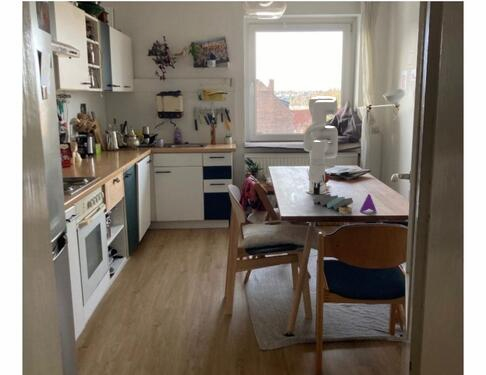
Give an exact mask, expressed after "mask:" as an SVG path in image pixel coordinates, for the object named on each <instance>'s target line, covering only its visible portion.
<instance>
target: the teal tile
mask: <svg viewBox="0 0 486 375" xmlns="http://www.w3.org/2000/svg"><path fill="white" fill-rule="evenodd" d="M343 199H346V197H345V196H338V198H336V199H334V200H332V201H331V202H329V203H327V205H326V207H327V209H334V206H333V205H335V204H336V203H338V202H340V201H341V200H343Z"/></svg>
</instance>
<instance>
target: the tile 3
mask: <svg viewBox="0 0 486 375" xmlns="http://www.w3.org/2000/svg"><path fill="white" fill-rule="evenodd" d="M353 203H354V200H353V197H349V198H348V197H347V198H345V199H343V200H341V201H340V202H338V203H336V204H335V205H333V206H334V208H333V209H334V210H335V211H336V210H339V207H343V206H349V205H352V204H353Z"/></svg>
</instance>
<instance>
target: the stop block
mask: <svg viewBox="0 0 486 375" xmlns="http://www.w3.org/2000/svg"><path fill="white" fill-rule="evenodd" d="M352 208H353V207H352V206H349V205H348V206H343V207H339V209H338V213H339V214H341V213H342V215H345V213H346V214H351V213H352V211H353V209H352Z"/></svg>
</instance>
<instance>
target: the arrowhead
mask: <svg viewBox="0 0 486 375" xmlns="http://www.w3.org/2000/svg"><path fill="white" fill-rule="evenodd" d="M367 210H371V211H373V212H375V213H377V212H378V211H377V209H376V206H375V203H374V200H373V198H372V195H371V194H370V193H367V196H366V198H365V199H364V201H363V204H362V206H361V208H360V210H359V212H360V213H363V212H366V211H367Z"/></svg>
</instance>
